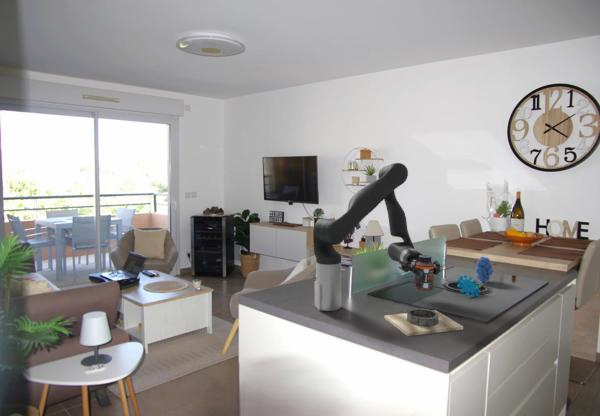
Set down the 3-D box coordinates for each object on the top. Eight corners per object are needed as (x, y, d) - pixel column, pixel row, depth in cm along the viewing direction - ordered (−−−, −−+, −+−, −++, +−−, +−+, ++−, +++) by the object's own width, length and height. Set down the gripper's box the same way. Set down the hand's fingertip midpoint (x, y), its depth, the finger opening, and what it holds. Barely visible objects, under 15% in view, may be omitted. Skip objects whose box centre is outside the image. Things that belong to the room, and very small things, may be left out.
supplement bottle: (430, 292, 140) (431, 258, 139) (412, 289, 143) (413, 256, 142) (435, 287, 145) (436, 255, 144) (417, 285, 148) (418, 253, 147)
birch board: (407, 336, 133) (407, 333, 133) (384, 318, 148) (384, 315, 148) (463, 329, 138) (463, 326, 138) (435, 312, 153) (435, 310, 153)
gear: (463, 295, 168) (455, 273, 174) (455, 302, 172) (448, 280, 179) (487, 296, 171) (478, 275, 177) (478, 303, 175) (470, 282, 182)
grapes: (486, 287, 185) (487, 259, 183) (471, 283, 190) (472, 257, 189) (499, 282, 192) (500, 256, 191) (484, 279, 197) (485, 253, 196)
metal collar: (416, 327, 137) (417, 320, 136) (401, 317, 146) (401, 310, 146) (444, 324, 139) (444, 317, 139) (427, 314, 149) (427, 307, 149)
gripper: (393, 250, 157) (405, 260, 140) (432, 249, 157) (449, 260, 141) (393, 270, 158) (405, 283, 141) (431, 269, 158) (448, 282, 142)
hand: (427, 271), depth 141 cm, fingers closed on supplement bottle, 6 cm apart
